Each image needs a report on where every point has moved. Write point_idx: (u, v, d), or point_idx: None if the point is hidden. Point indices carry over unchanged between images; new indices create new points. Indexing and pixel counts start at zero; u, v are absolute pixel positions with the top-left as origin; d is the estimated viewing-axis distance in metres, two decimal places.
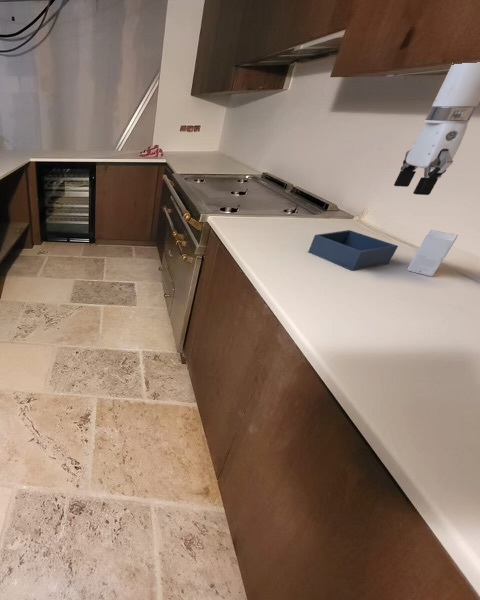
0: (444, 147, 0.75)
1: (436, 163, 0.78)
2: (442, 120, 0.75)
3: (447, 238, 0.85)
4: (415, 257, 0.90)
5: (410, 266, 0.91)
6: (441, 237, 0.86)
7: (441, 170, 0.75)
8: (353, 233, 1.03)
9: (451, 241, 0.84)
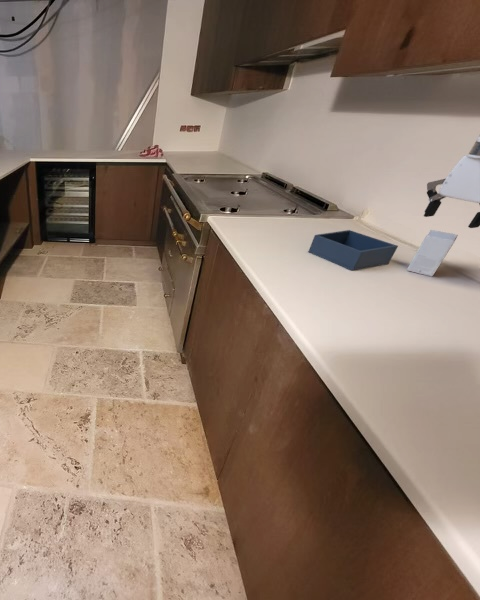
0: None
1: None
2: None
3: (447, 238, 0.85)
4: (415, 257, 0.90)
5: (410, 266, 0.91)
6: (441, 237, 0.86)
7: None
8: (353, 233, 1.03)
9: (451, 241, 0.84)
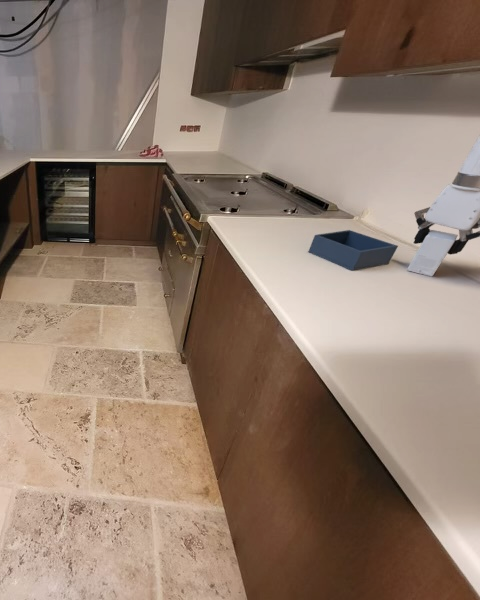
0: None
1: None
2: None
3: (447, 238, 0.85)
4: (415, 257, 0.90)
5: (410, 266, 0.91)
6: (441, 237, 0.86)
7: None
8: (353, 233, 1.03)
9: (451, 241, 0.84)
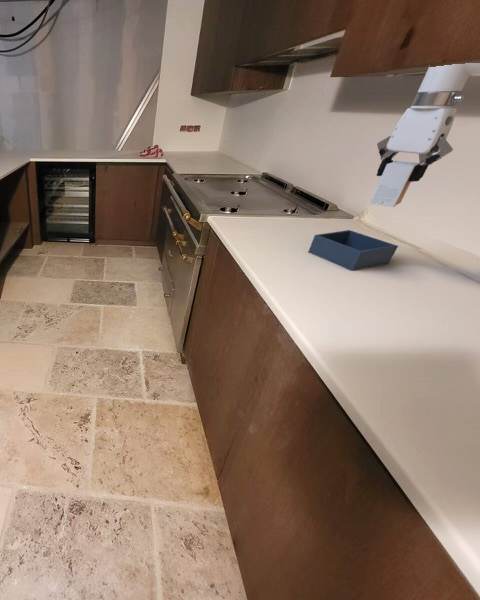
0: (443, 132, 0.77)
1: None
2: (440, 105, 0.75)
3: (408, 164, 0.82)
4: (377, 188, 0.87)
5: (372, 198, 0.89)
6: (402, 164, 0.83)
7: (440, 157, 0.78)
8: (353, 233, 1.03)
9: (411, 166, 0.81)
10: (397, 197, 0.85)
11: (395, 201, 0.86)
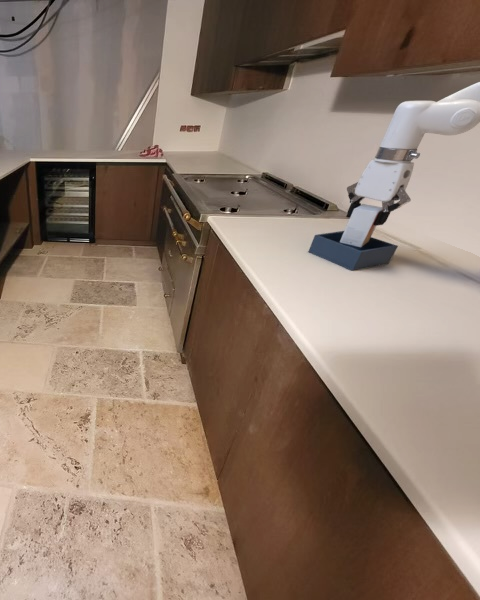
0: (402, 183, 0.84)
1: None
2: (399, 160, 0.82)
3: (372, 210, 0.90)
4: (346, 229, 0.95)
5: (342, 238, 0.96)
6: (367, 209, 0.91)
7: (400, 206, 0.85)
8: None
9: (375, 212, 0.89)
10: (363, 239, 0.93)
11: (362, 242, 0.93)
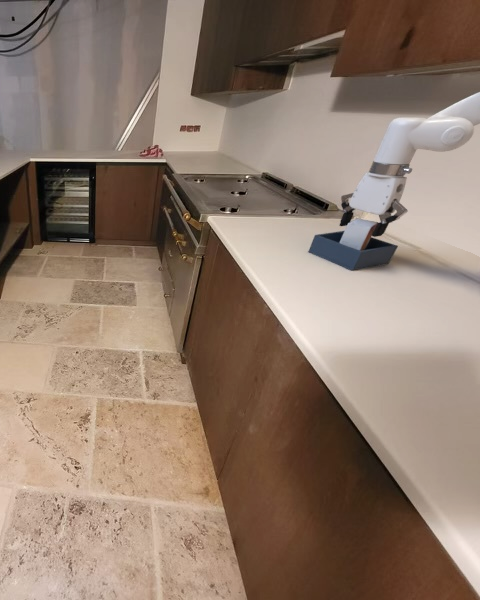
0: (395, 197, 0.86)
1: None
2: (391, 175, 0.84)
3: (366, 225, 0.92)
4: None
5: None
6: (361, 224, 0.93)
7: (398, 217, 0.86)
8: None
9: (368, 227, 0.91)
10: None
11: None
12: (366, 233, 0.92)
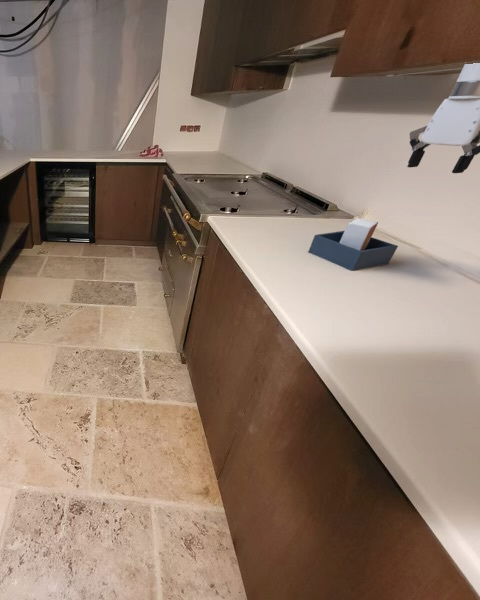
0: None
1: None
2: None
3: (366, 225, 0.92)
4: None
5: None
6: (361, 224, 0.93)
7: None
8: None
9: (368, 227, 0.91)
10: None
11: None
12: (366, 233, 0.92)
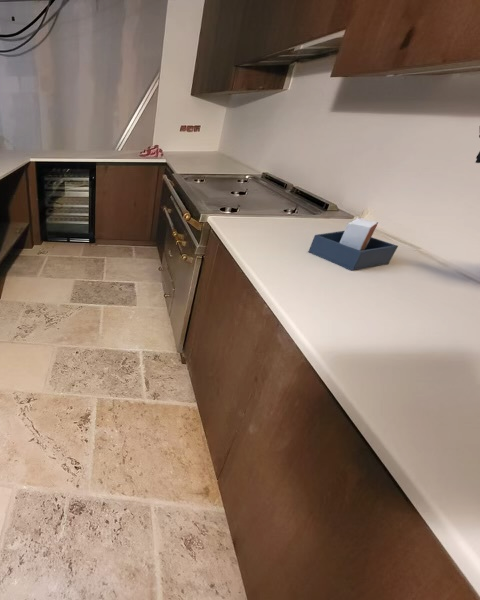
0: None
1: None
2: None
3: (366, 225, 0.92)
4: None
5: None
6: (361, 224, 0.93)
7: None
8: None
9: (368, 227, 0.91)
10: None
11: None
12: (366, 233, 0.92)
